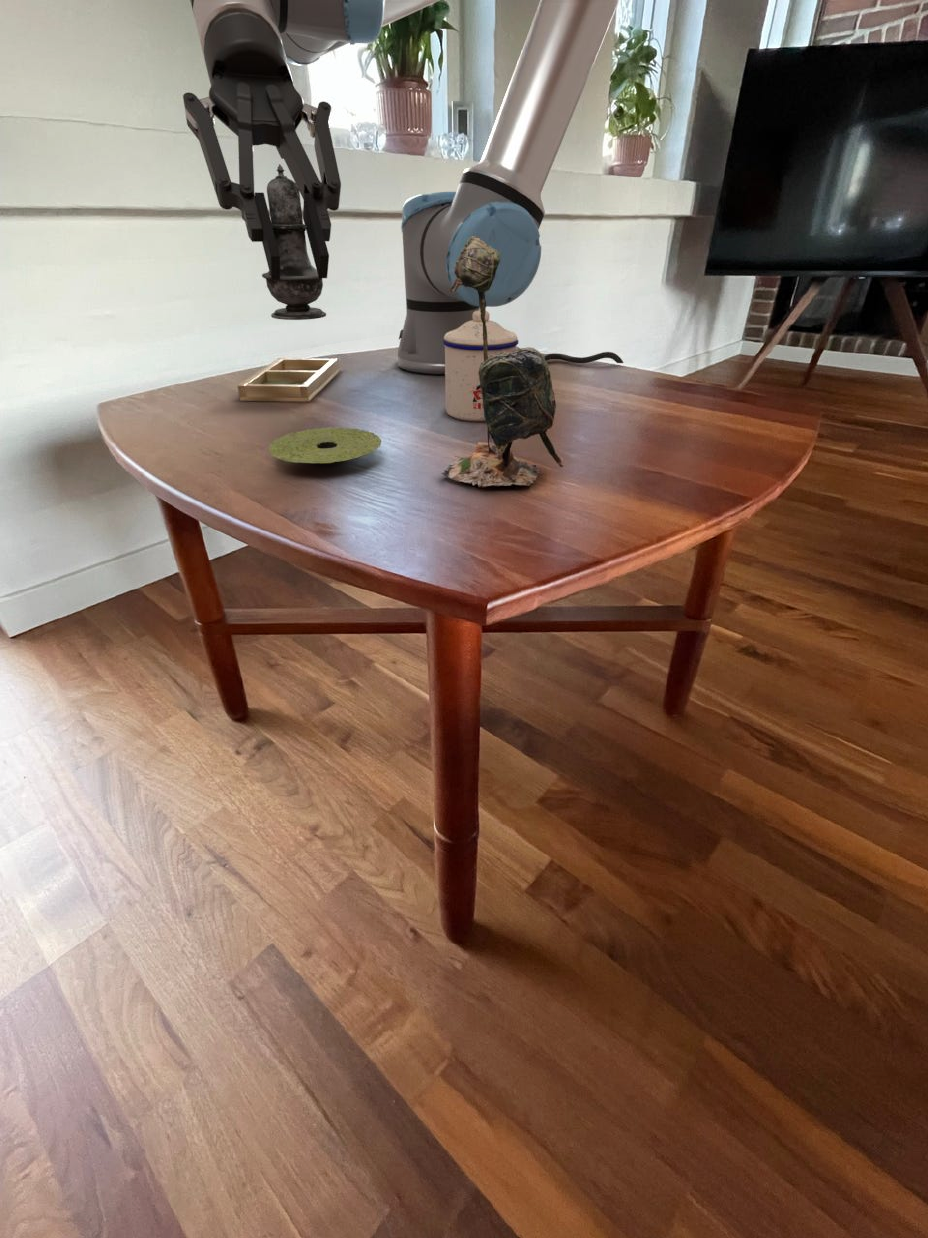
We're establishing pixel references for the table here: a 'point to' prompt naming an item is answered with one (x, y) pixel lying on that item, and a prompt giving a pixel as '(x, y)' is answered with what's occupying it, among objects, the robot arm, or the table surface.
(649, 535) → the table surface
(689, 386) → the table surface
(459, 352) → the teacup with lid
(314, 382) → the wooden divided tray
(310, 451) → the mat
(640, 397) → the table surface
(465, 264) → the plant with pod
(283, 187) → the salt shaker
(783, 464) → the table surface
